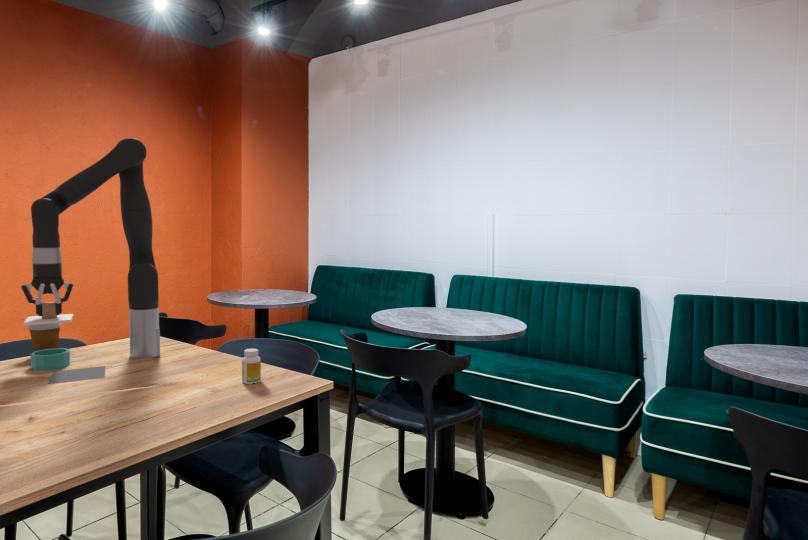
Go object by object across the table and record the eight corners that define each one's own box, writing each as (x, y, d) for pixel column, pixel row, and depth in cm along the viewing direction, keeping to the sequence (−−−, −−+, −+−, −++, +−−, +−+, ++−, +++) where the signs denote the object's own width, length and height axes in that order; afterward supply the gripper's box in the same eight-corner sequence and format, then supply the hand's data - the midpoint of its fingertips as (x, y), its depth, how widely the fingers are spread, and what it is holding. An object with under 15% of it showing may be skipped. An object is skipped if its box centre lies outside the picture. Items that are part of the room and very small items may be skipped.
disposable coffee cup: (49, 359, 169) (48, 324, 168) (22, 358, 169) (20, 323, 168) (68, 352, 178) (67, 319, 177) (42, 351, 178) (41, 318, 177)
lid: (73, 316, 167) (72, 299, 166) (70, 322, 156) (70, 304, 156) (28, 318, 160) (28, 301, 160) (23, 325, 150) (22, 306, 150)
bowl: (71, 361, 166) (70, 346, 166) (68, 369, 158) (68, 353, 157) (34, 365, 161) (33, 350, 161) (29, 373, 153) (29, 357, 152)
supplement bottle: (264, 380, 150) (264, 349, 149) (252, 385, 145) (252, 353, 144) (250, 378, 152) (250, 347, 152) (238, 382, 148) (237, 350, 147)
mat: (105, 367, 160) (105, 365, 160) (104, 379, 148) (104, 377, 148) (52, 373, 153) (52, 371, 153) (47, 385, 141) (47, 384, 141)
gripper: (74, 260, 164) (76, 312, 165) (20, 261, 156) (23, 315, 158) (73, 262, 157) (75, 315, 159) (17, 263, 150) (19, 319, 151)
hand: (49, 315), depth 158 cm, fingers closed on lid, 4 cm apart
